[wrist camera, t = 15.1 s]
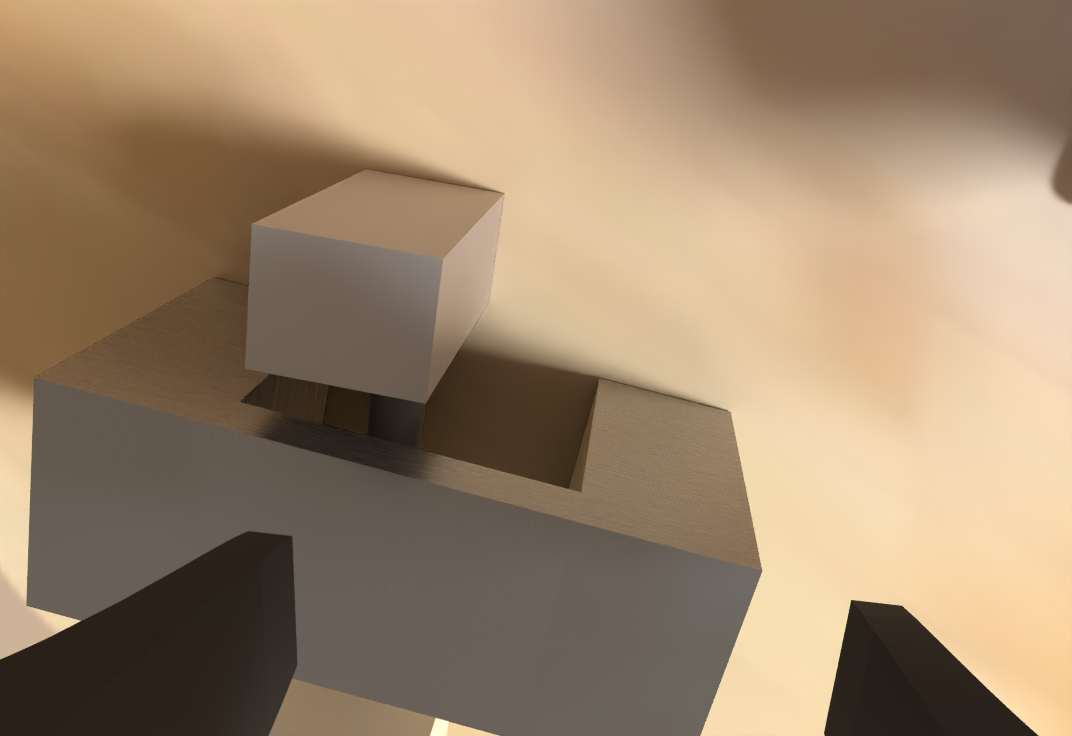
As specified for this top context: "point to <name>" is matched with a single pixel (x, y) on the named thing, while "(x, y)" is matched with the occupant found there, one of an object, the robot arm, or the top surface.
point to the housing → (403, 533)
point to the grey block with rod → (369, 338)
